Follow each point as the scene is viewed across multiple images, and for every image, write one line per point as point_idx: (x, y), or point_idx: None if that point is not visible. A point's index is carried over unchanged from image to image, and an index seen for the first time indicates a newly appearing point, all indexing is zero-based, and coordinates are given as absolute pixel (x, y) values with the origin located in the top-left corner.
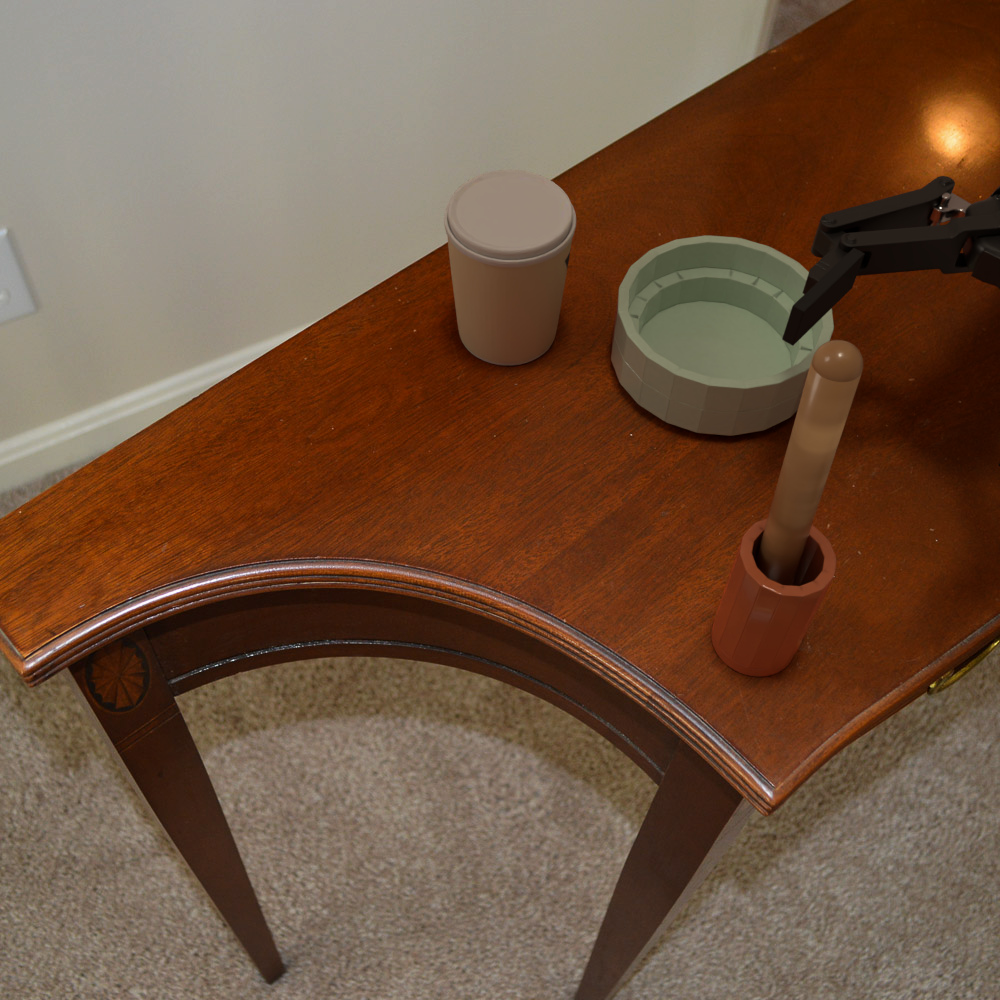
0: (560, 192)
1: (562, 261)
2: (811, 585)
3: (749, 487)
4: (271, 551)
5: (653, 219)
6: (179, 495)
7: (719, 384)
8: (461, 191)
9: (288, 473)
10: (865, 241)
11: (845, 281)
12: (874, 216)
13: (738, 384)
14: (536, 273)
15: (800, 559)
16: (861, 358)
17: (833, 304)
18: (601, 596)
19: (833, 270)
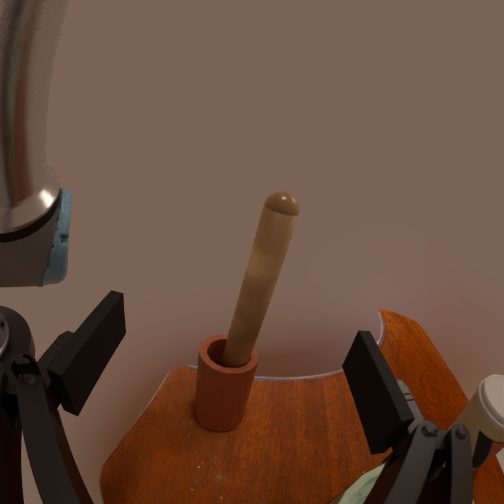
0: None
1: (479, 426)
2: (207, 343)
3: (284, 493)
4: (383, 347)
5: None
6: (413, 344)
7: (360, 479)
8: None
9: (411, 365)
10: (419, 441)
11: (378, 410)
12: (451, 481)
13: (352, 489)
14: (473, 408)
15: (221, 362)
16: (271, 197)
17: (362, 417)
18: (293, 396)
19: (393, 379)
